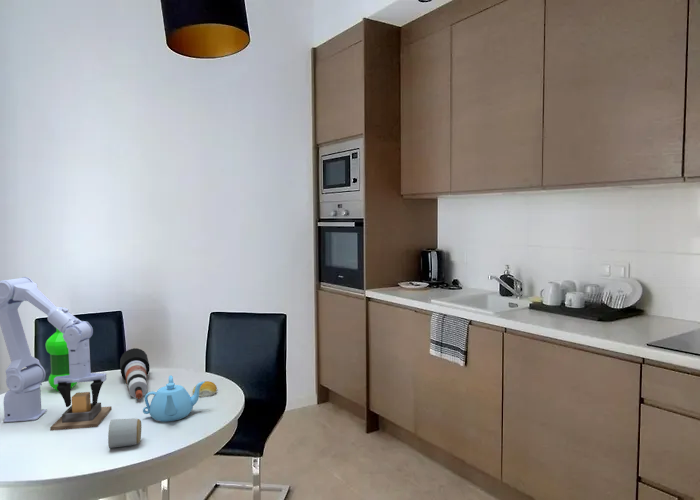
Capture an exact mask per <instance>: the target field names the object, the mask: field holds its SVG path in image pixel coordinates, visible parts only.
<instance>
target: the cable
mask: <svg viewBox="0 0 700 500" xmlns="http://www.w3.org/2000/svg"><path fill="white" fill-rule="evenodd" d="M119 367H120V374H121V377H122V379H123V380H125V382H126V383H125V384H126V385H127V389H128V393H129V395H130V397H132V398H134V399H138V400H140V399H142V398H143V397H145V395H146V394H147V393H148V375H149V374H150V373H149V372H150V371H151V370H150V362H149V359H148V355H147V353H146V352H145V351H144V350H143V349H140V348H135V347H134V348H129V349H128V350H126V351H124V352H123V353H122V354H121V357H120V361H119Z"/></svg>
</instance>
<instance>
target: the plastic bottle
mask: <svg viewBox="0 0 700 500" xmlns="http://www.w3.org/2000/svg"><path fill="white" fill-rule="evenodd" d="M53 327H54V328H55V329H56V331H55V332H54V333H53V334H52V335H51V336H49V337H48V339H47V340H46V341H45V349H46V352H47V353H48V354H49V361H50V374H49V376H48V384H49V386H50V387H51V388H52V389H53V390H54V391H56V392H59V391H58V390H57V386H58V384H55V385H54V378H55V377H57V376H65V375H70V370H69V350H68V348H67V343H66V342H65V340H64V338H63V333H62V332H61V331H59V330H58V329H57V328H56V327H55V326H53ZM77 384H78V382H75V383H71V390H72V389H73V388H74V387H75V386H76V385H77Z"/></svg>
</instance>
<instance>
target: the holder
mask: <svg viewBox="0 0 700 500" xmlns="http://www.w3.org/2000/svg"><path fill="white" fill-rule="evenodd" d="M111 411H112V406H110V405H109V406H102V402H97V404H96V405H93V403H92V402H91V411H90V412H77V413H72V404H71V405H70V406H69V407H67V409H66V410H65V411H64V412H63V413H62V414H61V416H60V417H59V418H58V419H57V420H56V421H55V422H53V424H52V425H51V426H50V427H49V428H50V431H58V430H59V431H60V430H74V429H75V430H76V429H87V428H88V429H89V428H98V427H99V425H100V424H101V423H102V421H103V420H104V419H105V418H106V417H107V416H108V415H109V413H110V412H111Z"/></svg>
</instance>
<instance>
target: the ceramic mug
mask: <svg viewBox="0 0 700 500" xmlns="http://www.w3.org/2000/svg"><path fill="white" fill-rule="evenodd" d="M107 433H108V434H107V437H108V439H107V441H108V442H107V443H108V447H109V449H113V448H123V447H127V446H128V447H129V446H135V445H138V444H140V442H141V441H142V440H141V439H142V421H141V419H140V418H136V417H135V418H117V419H116V418H112V419H110V422H109V425H108V432H107Z"/></svg>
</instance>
